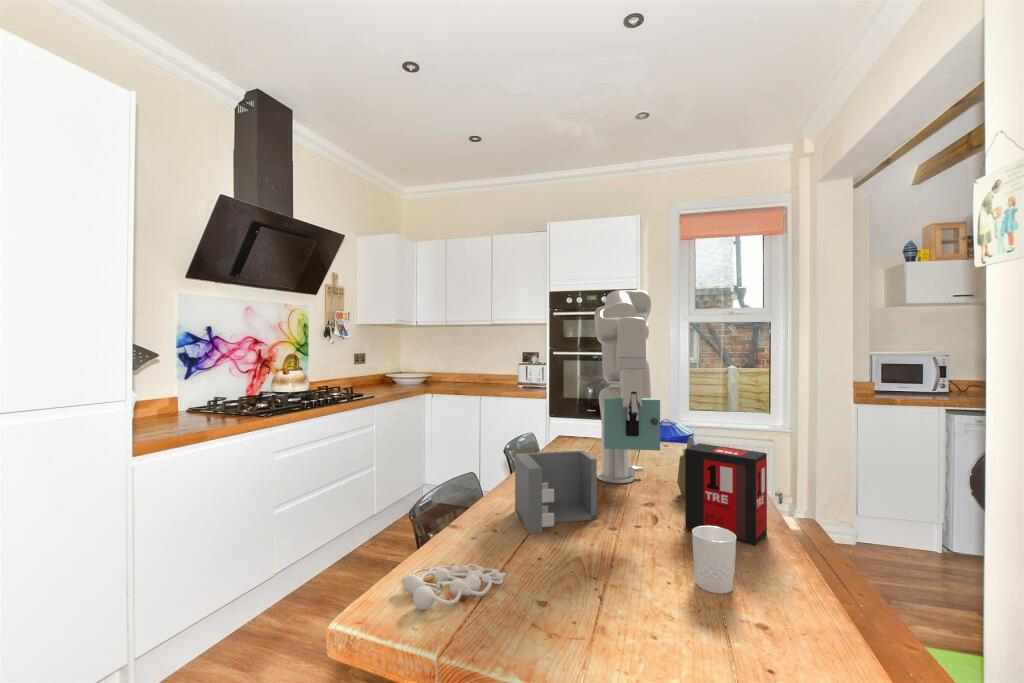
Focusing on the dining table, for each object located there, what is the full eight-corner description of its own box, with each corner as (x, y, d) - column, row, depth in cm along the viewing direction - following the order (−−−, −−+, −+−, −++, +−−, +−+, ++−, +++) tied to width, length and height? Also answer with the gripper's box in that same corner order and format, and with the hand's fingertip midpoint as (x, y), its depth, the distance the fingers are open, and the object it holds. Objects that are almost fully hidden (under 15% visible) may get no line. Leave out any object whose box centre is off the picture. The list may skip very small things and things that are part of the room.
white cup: (733, 600, 87) (733, 545, 87) (688, 588, 91) (688, 536, 91) (738, 581, 93) (738, 530, 93) (696, 571, 97) (696, 522, 97)
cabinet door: (658, 447, 125) (658, 398, 125) (661, 451, 121) (660, 400, 121) (604, 446, 127) (604, 397, 127) (604, 450, 122) (604, 399, 122)
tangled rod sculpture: (486, 568, 102) (486, 548, 102) (518, 594, 89) (518, 571, 90) (396, 588, 93) (396, 566, 93) (418, 619, 80) (418, 593, 80)
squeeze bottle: (676, 498, 143) (676, 438, 143) (678, 490, 150) (677, 433, 151) (705, 501, 140) (705, 440, 140) (705, 493, 147) (705, 435, 147)
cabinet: (583, 506, 136) (583, 450, 136) (605, 527, 120) (605, 464, 120) (515, 511, 132) (515, 453, 132) (528, 534, 116) (528, 468, 116)
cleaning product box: (685, 527, 121) (685, 448, 121) (699, 517, 127) (699, 443, 127) (755, 546, 109) (755, 459, 109) (766, 534, 116) (766, 453, 116)
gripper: (614, 362, 133) (614, 428, 133) (619, 366, 117) (619, 440, 117) (641, 363, 132) (641, 429, 132) (651, 366, 116) (651, 441, 116)
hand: (631, 433), depth 124 cm, fingers closed on cabinet door, 3 cm apart
